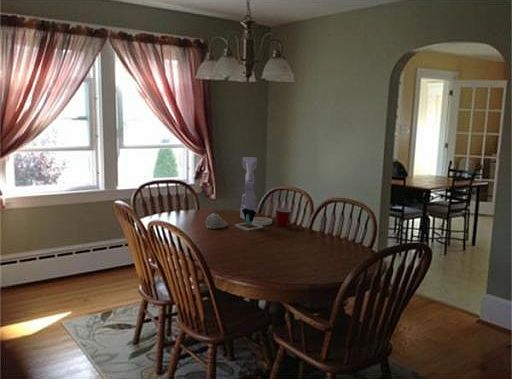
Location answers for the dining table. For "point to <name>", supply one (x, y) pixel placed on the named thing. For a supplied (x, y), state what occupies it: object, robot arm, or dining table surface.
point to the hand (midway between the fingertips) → (249, 220)
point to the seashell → (215, 222)
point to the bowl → (262, 221)
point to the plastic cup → (282, 216)
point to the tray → (248, 228)
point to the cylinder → (248, 219)
